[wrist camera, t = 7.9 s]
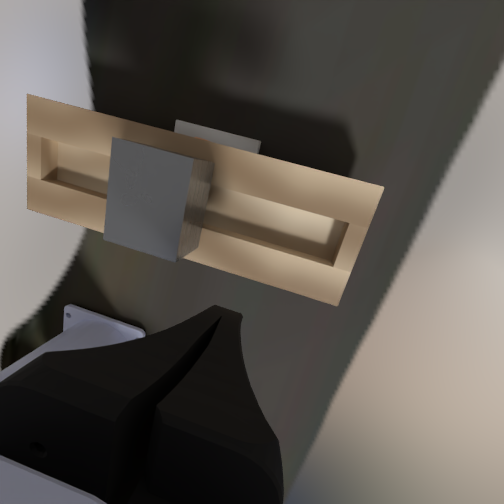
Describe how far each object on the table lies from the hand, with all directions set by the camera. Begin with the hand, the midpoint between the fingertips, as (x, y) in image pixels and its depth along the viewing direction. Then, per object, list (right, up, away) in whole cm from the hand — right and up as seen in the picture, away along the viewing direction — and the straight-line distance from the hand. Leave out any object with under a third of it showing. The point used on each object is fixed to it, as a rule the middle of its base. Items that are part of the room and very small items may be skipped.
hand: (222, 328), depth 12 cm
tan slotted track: (-2, +8, +8) cm, 11 cm away
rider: (-3, +7, +5) cm, 9 cm away
